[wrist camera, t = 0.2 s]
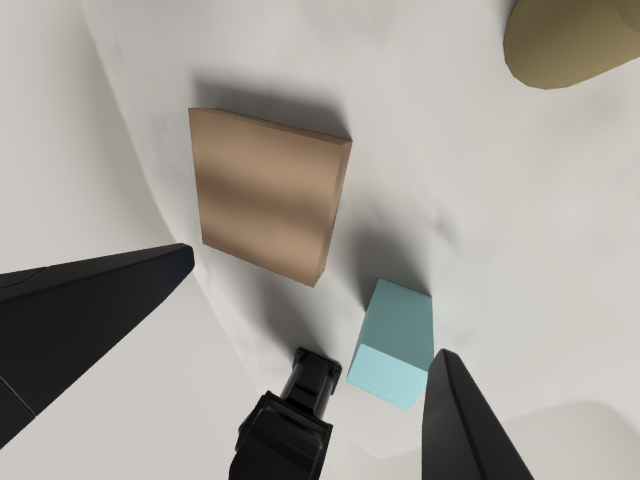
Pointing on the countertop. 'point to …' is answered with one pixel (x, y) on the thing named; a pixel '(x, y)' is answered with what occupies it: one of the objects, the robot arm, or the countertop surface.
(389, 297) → the teal block
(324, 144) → the wooden board
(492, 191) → the countertop surface
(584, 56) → the cork
